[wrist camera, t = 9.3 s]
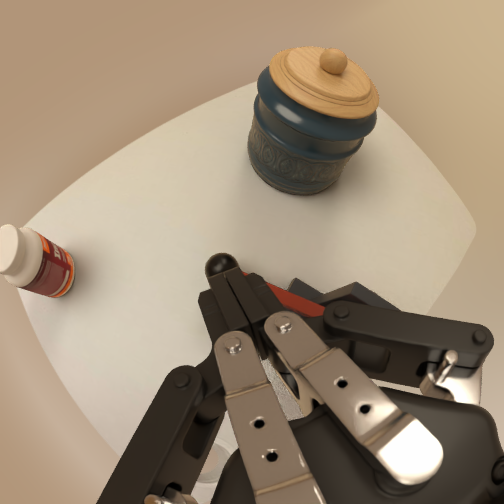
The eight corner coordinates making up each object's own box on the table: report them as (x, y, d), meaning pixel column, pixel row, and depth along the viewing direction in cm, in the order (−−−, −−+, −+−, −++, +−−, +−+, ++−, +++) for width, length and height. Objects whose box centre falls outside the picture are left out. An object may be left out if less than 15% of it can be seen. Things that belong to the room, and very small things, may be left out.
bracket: (256, 342, 28) (282, 351, 16) (292, 279, 31) (337, 245, 18) (325, 378, 28) (386, 402, 16) (356, 317, 30) (426, 306, 18)
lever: (208, 285, 27) (192, 270, 25) (225, 258, 28) (211, 242, 26) (361, 358, 19) (362, 351, 16) (378, 322, 20) (381, 309, 17)
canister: (354, 184, 35) (425, 98, 18) (270, 210, 33) (314, 102, 16) (311, 115, 38) (349, 24, 21) (232, 131, 35) (243, 21, 19)
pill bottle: (84, 260, 28) (33, 228, 18) (65, 306, 27) (7, 292, 16) (51, 242, 28) (1, 208, 18) (34, 285, 27) (-22, 264, 16)
